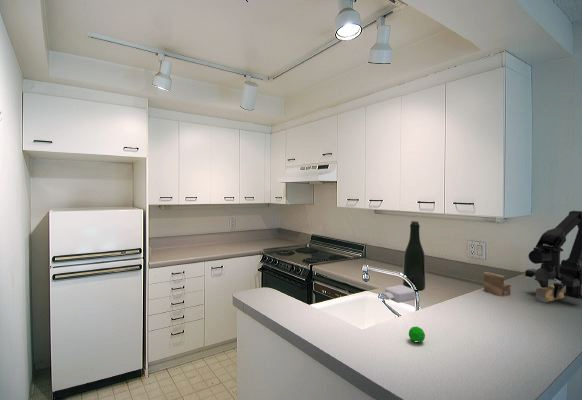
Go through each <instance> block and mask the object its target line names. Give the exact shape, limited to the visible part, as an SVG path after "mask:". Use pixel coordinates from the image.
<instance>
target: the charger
mask: <svg viewBox="0 0 582 400" xmlns="http://www.w3.org/2000/svg"><path fill="white" fill-rule="evenodd" d="M380 297H381V298H382V299H385V300H386V301H387V300H391V301H392V302H395V303H398V304H399V303H405V302H408V301H409V302H410V301H415V300H416V291H414V290H413V289H411V288H409V287H406V286H403V284H399V285H393V286H388V287H385V288H384V292H382V293H380V295H379V298H380Z"/></svg>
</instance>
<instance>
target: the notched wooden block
mask: <svg viewBox="0 0 582 400" xmlns="http://www.w3.org/2000/svg"><path fill="white" fill-rule="evenodd" d="M483 275H484V277H483V278H484V281H483V292H487V293H491V294H493V295H496V296H499V297H504V296H509V295H511V284H509V283H505V278H506V277H505V275H501V274H496V273H493V272H490V271H484V272H483Z"/></svg>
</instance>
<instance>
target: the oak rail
mask: <svg viewBox="0 0 582 400" xmlns="http://www.w3.org/2000/svg"><path fill="white" fill-rule="evenodd" d="M554 288H555V287H554V284H552V285H548V286H546V287H542V288H541V287H538V288H536V289H535V301H537V302H540V301H541V302H540V303H543V302H544V304H545V302H546V303H549V301H550V302H552V301H557V300H560V299H564V297H565V296H564V295H565V294H564V292H565V286H564V287H563V289H562V290H561V291H560V293H559V295H558V296H557V298H554Z"/></svg>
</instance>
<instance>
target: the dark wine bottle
mask: <svg viewBox="0 0 582 400" xmlns="http://www.w3.org/2000/svg"><path fill="white" fill-rule="evenodd" d="M420 227H421V226H420V223H419V221H417V220H412V221H411V223H409V228H410V229H409V238H408V239H409V240H408V242H407V245H406V246H405V247H406V248H405V250H404V254H403V263H402V264H403V266H402V275H403V274H404V275H406V276H407V278H408V279H409V280H410V281H411V282H412V283H413V284H414V285H415V287H416V289H417V291H416V292H422V291H425V290H426V284H427V283H426V282H427V280H426V279H427V277H426V276H427V273H426V272H427V271H426V269H427V268H426V254H425V250H424V248H423V246H422V243H421V239H420V238H421V237H420ZM402 285H403V286H406V287H409V288H411V286H410V285H409V284H408V283H407V282H406V281H405V280H404V279H403V278H402ZM411 289H412V288H411Z"/></svg>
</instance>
